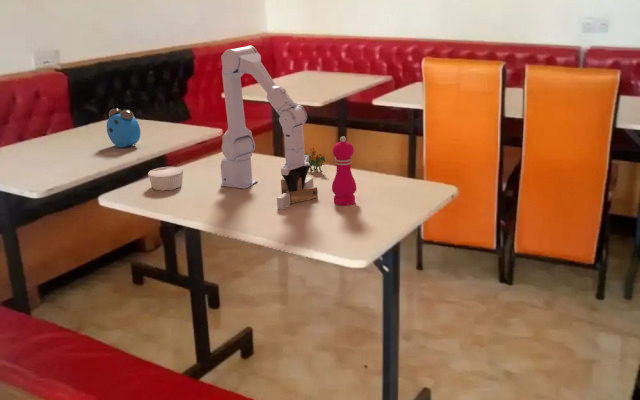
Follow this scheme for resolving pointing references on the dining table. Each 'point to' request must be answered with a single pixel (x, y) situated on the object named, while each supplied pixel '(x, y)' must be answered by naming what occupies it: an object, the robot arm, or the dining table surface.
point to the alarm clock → (123, 128)
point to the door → (303, 194)
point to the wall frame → (284, 199)
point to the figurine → (315, 160)
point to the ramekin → (166, 178)
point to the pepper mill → (343, 174)
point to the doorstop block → (285, 188)
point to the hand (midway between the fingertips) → (296, 191)
